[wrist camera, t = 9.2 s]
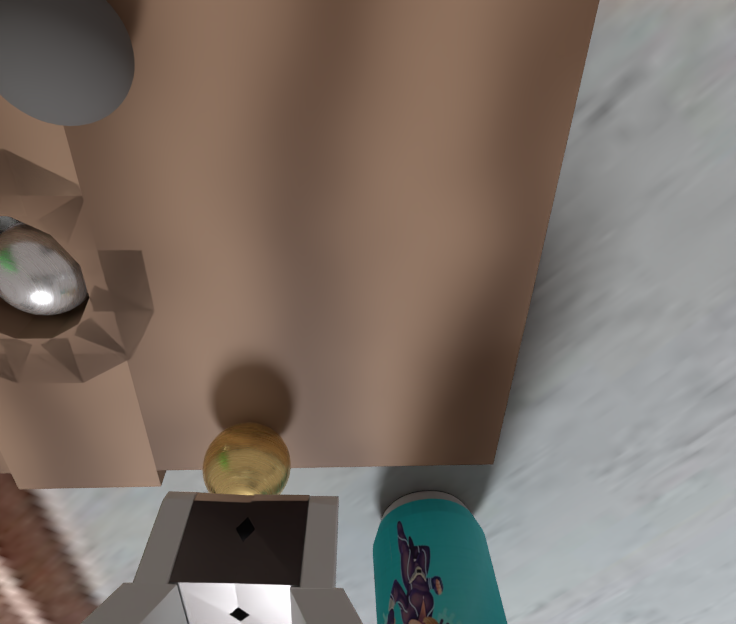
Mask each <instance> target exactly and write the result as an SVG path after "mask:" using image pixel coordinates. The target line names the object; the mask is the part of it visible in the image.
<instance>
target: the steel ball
mask: <svg viewBox="0 0 736 624" xmlns="http://www.w3.org/2000/svg"><path fill="white" fill-rule="evenodd" d="M0 297H1V298H3V299H4V300H5V301H6V302H7V303H9V304H10V305H12V306H13V307H15V308H17V309H19V310H22V311H24V312H27V313H31V314H37V315H54V314H59V313H63V312H66V311H69V310H71V309H73V308H75V307H77V306H78V305H80V304H81V303H82V302H84V301H85V300H86V299H87V298H88V297H89V294H88V291H87V287H86V284H85V280H84V277H83V274H82V270H81V267H80V265H79V264H78V263H77V262H76V261H75V260H74V258H73V257H72V256H71V255H70V254H69V253H68V252H67V251H66V250H65V249H64V248H63V247H62V246H61V245H60V244H59V243H58V242H57V241H56V240H55V239H54V238H53V237H52V236H51V235H50V234H48V233H45V232H43V231H41V230H39V229H36V228H34V227H32V226H30V225H27V224H25V223H23V222H19V223H16V224H14V225H12V226H11V227H9V228H7V229H6V230H5V231H4V232H2V233H1V234H0Z"/></svg>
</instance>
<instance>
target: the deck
mask: <svg viewBox="0 0 736 624" xmlns="http://www.w3.org/2000/svg"><path fill="white" fill-rule="evenodd" d="M106 1H107V2H108V3H109V4H110V5H111V6H112V8H113V9H114V10H115V12H116V13H117V14H118V16H119V17H120V19H121V20H122V22H123V24H124V26H125V28H126V30H127V32H128V34H129V37H130V40H131V43H132V47H133V52H134V59H135V70H134V78H133V81H132V85H131V88H130V90H129V92H128V94H127V96H126V98H125V99H124V101H123V102H122V103H121V104H120V106H119V107H118V108H117V109H116V110H115V111H114V112H112V113H111V114H110V115H108V116H106V117H105V118H103V119H101V120H99V121H96V122H93V123H90V124H85V125H79V126H63V125H56V124H51V123H47V122H44V121H41V120H38V119H36V118H33V117H31V116H29V115H27V114H25V113H24V112H22V111H20V110H19V109H17V108H16V107H14V106H13V105H11V104H10V103H9V102H8V101H7V100H6V99H4V98H3V97H2V96H1V95H0V216H9V217H12V218H14V219H16V220H18V221H21V222H23V223H25V224H27V225H30V226H32V227H34V228H36V229H39V230H41V231H43V232H45V233H48V234H50V235H51V236H52V237H53V238H54V239H55V240H56V241H57V242H58V243H59V244H60V245H61V246H62V247H63V248H64V249H65V250H66V251H67V252H68V253H69V254H70V255H71V256H72V257H73V258H74V260H75V261H76V262H77V263H78V264H79V265H80V267H81V270H82V274H83V277H84V280H85V284H86V287H87V291H88V294H89V297H88V298H87V299H86V300H85V301H84V302H82V303H81V304H80V305H78V306H77V307H75V308H73V309H71V310H69V311H66V312H63V313H59V314H54V315H37V314H31V313H27V312H24V311H22V310H19V309H17V308H15V307H13V306H12V305H10V304H9V303H7V302H6V301H5V300H4V299H3V298H1V297H0V473H11V474H12V476H13V478H14V480H15V482H16V484H17V486H18V488H19V489H53V488H104V487H155V486H161V485H162V482H163V479H164V476H165V473H166V470H203V461H204V457H205V454H206V451H207V449H208V447H209V445H210V444H211V442H212V441H213V440H214V439H215V437H216V436H217V435H218V434H220V433H221V432H222V431H223V430H225V429H227V428H229V427H231V426H233V425H236V424H240V423H246V422H253V423H259V424H263V425H265V426H267V427H269V428H271V429H273V430H274V431H275V432H277V433H278V434H279V435H280V436H281V438H282V439H283V440H284V442H285V444H286V446H287V448H288V451H289V454H290V460H291V468H317V467H372V466H428V465H483V464H493V463H494V459H495V454H496V450H497V445H498V441H499V437H500V432H501V428H502V424H503V419H504V415H505V410H506V406H507V402H508V397H509V393H510V389H511V384H512V380H513V376H514V371H515V367H516V362H517V358H518V354H519V349H520V345H521V341H522V336H523V332H524V327H525V323H526V319H527V314H528V310H529V306H530V301H531V297H532V293H533V288H534V284H535V279H536V275H537V271H538V266H539V262H540V258H541V253H542V249H543V244H544V240H545V236H546V231H547V227H548V223H549V218H550V214H551V210H552V205H553V201H554V196H555V192H556V188H557V183H558V179H559V175H560V170H561V166H562V161H563V157H564V153H565V148H566V144H567V140H568V135H569V131H570V126H571V122H572V118H573V113H574V109H575V105H576V100H577V96H578V92H579V87H580V83H581V78H582V74H583V70H584V65H585V61H586V57H587V52H588V48H589V43H590V39H591V35H592V30H593V26H594V22H595V17H596V13H597V9H598V4H599V0H106Z"/></svg>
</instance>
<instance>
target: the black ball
mask: <svg viewBox="0 0 736 624" xmlns="http://www.w3.org/2000/svg"><path fill="white" fill-rule="evenodd" d="M134 70H135V59H134V52H133V47H132V43H131V40H130V37H129V34H128V32H127V30H126V28H125V26H124V24H123V22H122V20H121V19H120V17H119V16H118V14H117V13H116V12H115V10H114V9H113V8H112V6H111V5H110V4H109V3H108V2H107V1H106V0H0V95H1V96H2V97H3V98H4V99H6V100H7V101H8V102H9V103H10V104H11V105H13V106H14V107H16V108H17V109H19V110H20V111H22V112H24V113H25V114H27V115H29V116H31V117H33V118H36V119H38V120H41V121H44V122H47V123H51V124H56V125H63V126H79V125H85V124H90V123H93V122H96V121H99V120H101V119H103V118H105V117H106V116H108V115H110V114H111V113H112V112H114V111H115V110H116V109H117V108H118V107H119V106H120V104H121V103H122V102H123V101H124V99H125V98H126V96H127V94H128V92H129V90H130V88H131V85H132V81H133V78H134Z"/></svg>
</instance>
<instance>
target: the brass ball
mask: <svg viewBox="0 0 736 624" xmlns="http://www.w3.org/2000/svg"><path fill="white" fill-rule="evenodd" d="M290 469H291V460H290V454H289V451H288V448H287V446H286V444H285V442H284V440H283V439H282V438H281V436H280V435H279V434H278V433H277V432H275V431H274V430H273V429H271V428H269V427H267V426H265V425H263V424H259V423H253V422H246V423H240V424H236V425H233V426H231V427H229V428H227V429H225V430H223V431H222V432H221V433H220V434H218V435H217V436H216V437H215V439H214V440H213V441H212V442H211V444H210V445H209V447H208V449H207V451H206V454H205V457H204V461H203V479H204V482H205V485H206V488H207V490H208V492H209V493H218V494H239V495H254V494H267V495H280V494H281V492H282V491H283V489H284V488H285V486H286V484H287V481H288V478H289V475H290Z"/></svg>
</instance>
